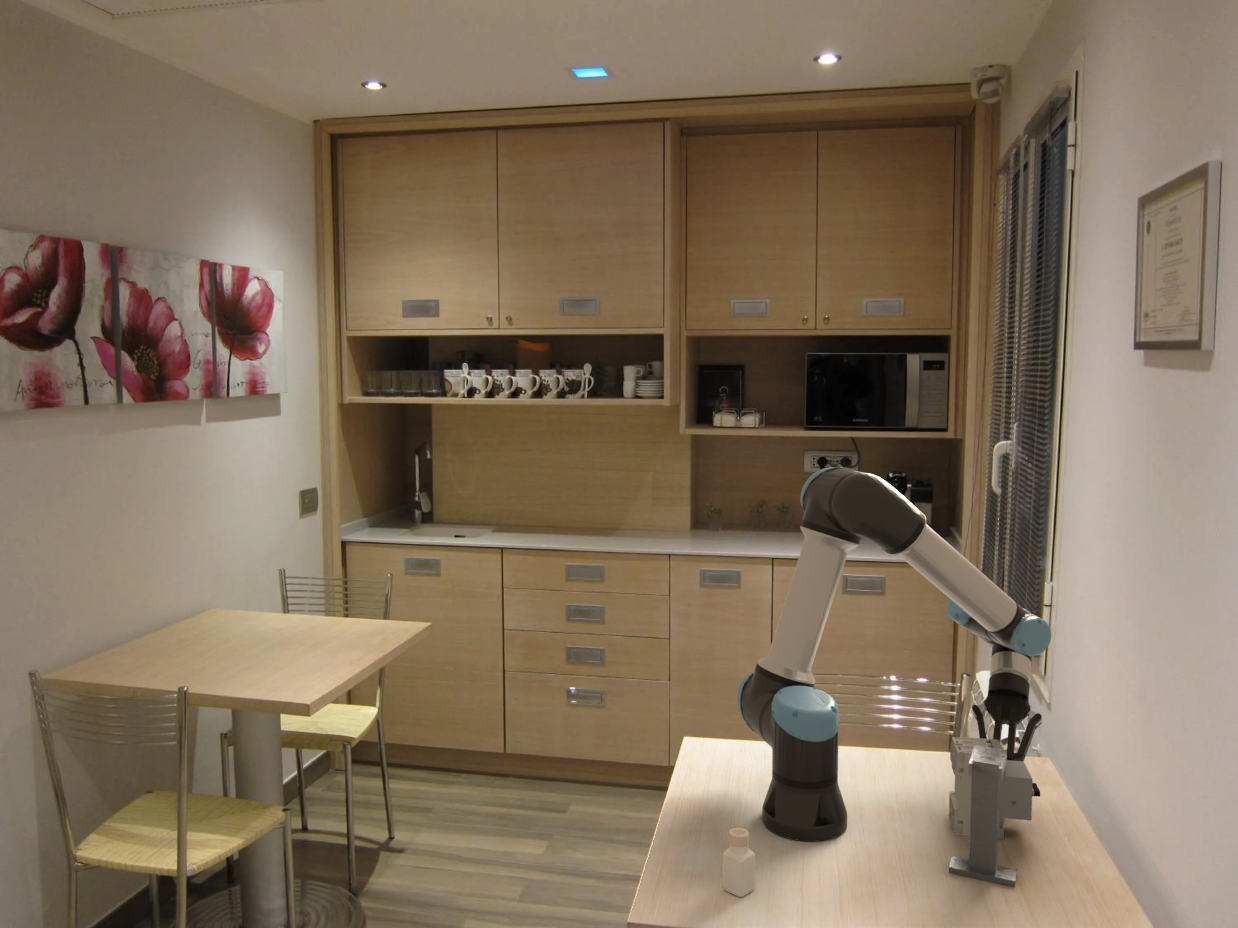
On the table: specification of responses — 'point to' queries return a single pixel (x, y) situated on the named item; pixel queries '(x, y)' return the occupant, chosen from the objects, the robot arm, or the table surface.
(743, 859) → the pepper shaker
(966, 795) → the circuit breaker
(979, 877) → the bracket
